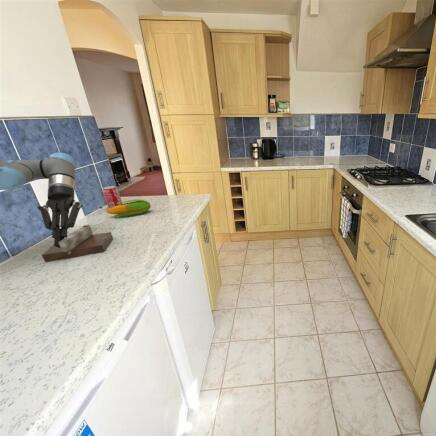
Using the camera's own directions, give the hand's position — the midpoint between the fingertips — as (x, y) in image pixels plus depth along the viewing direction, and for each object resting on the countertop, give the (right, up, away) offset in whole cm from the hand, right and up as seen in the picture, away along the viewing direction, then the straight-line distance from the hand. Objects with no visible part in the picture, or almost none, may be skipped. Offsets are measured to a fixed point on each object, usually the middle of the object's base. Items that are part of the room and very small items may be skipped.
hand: (59, 246), depth 87 cm
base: (+1, -2, +8) cm, 8 cm away
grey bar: (+1, +1, +7) cm, 7 cm away
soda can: (-16, +16, +51) cm, 56 cm away
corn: (-1, +12, +40) cm, 42 cm away
